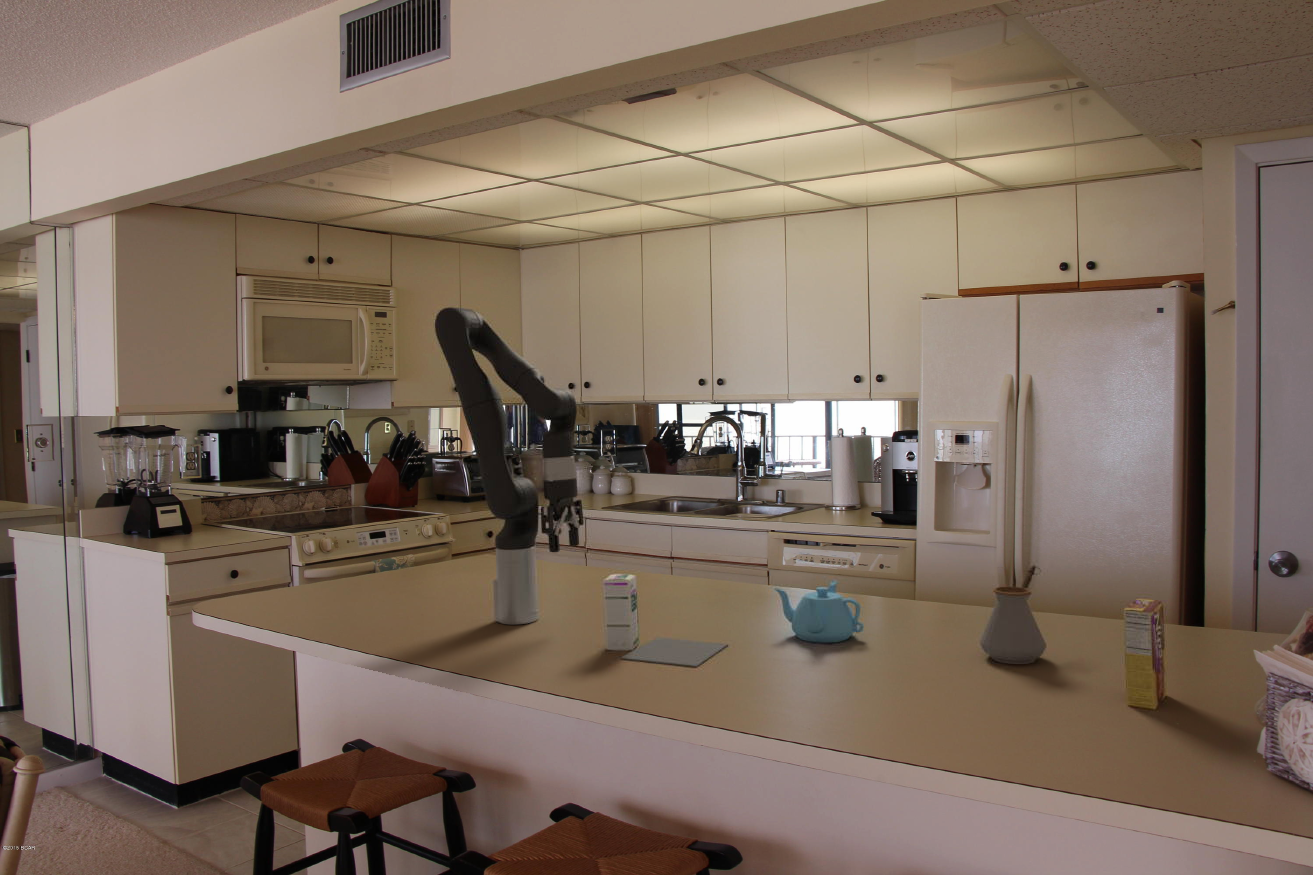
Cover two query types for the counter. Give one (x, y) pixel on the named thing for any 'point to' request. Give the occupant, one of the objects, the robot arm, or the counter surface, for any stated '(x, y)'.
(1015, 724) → the counter surface
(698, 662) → the mat
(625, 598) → the syrup box
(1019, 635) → the coffee pot
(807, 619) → the teapot
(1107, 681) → the counter surface
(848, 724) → the counter surface
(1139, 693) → the candy box
